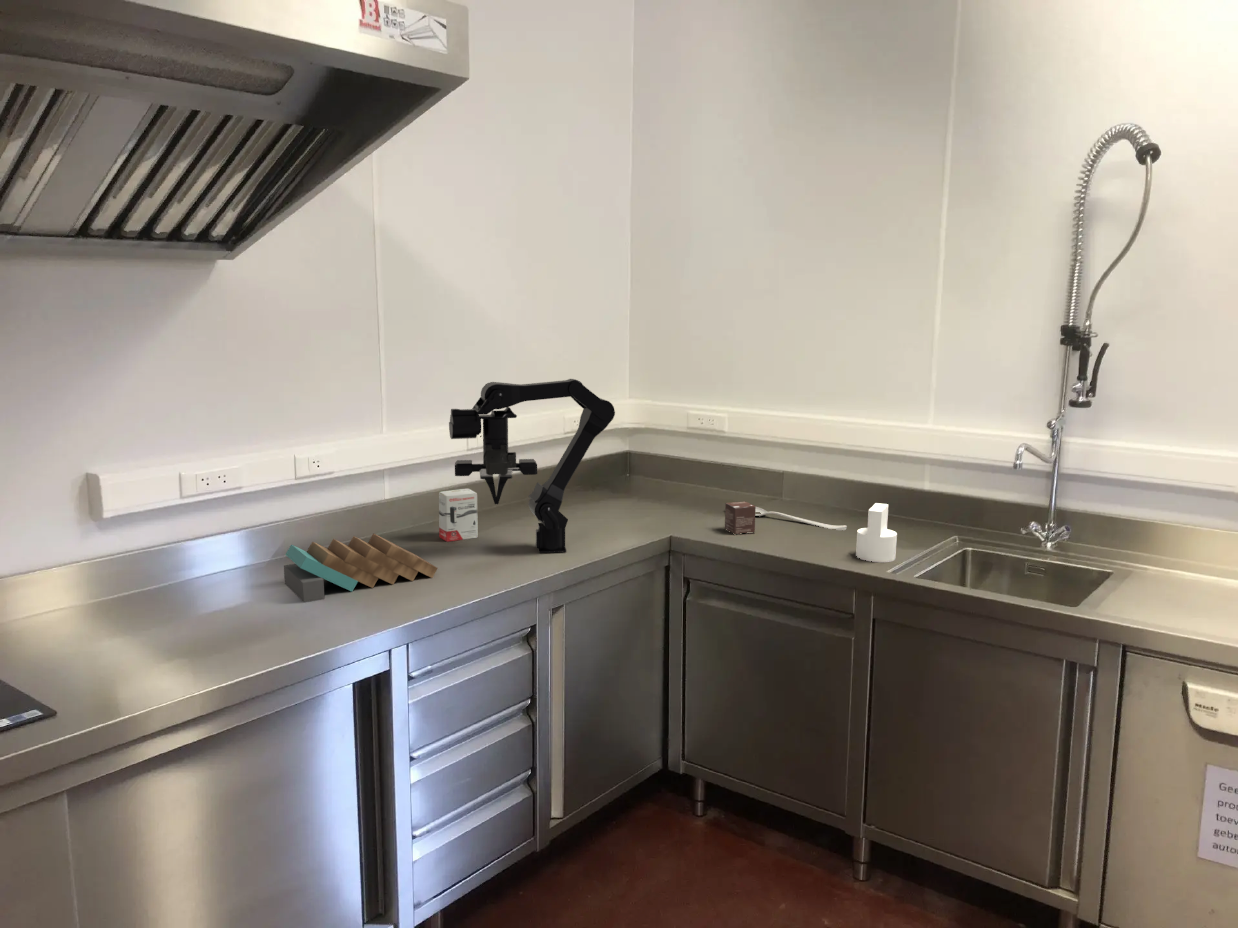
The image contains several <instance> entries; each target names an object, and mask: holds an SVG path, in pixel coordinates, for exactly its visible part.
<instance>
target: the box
mask: <svg viewBox="0 0 1238 928" xmlns="http://www.w3.org/2000/svg"><path fill="white" fill-rule="evenodd" d="M756 507H757V506H756V505H754V504H751V503H750V502H748V501H734V502H732V501H731V502H726V503H725V509H724V510H725V513H724V530H725V529H727V530H728V531H730V532H732V533H734V534H739V535H741V534H740V533H747V532H756V517H755V512H756V510H755V509H756ZM728 531H727V532H728ZM730 532H729V533H730ZM732 533H731V534H732Z"/></svg>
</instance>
